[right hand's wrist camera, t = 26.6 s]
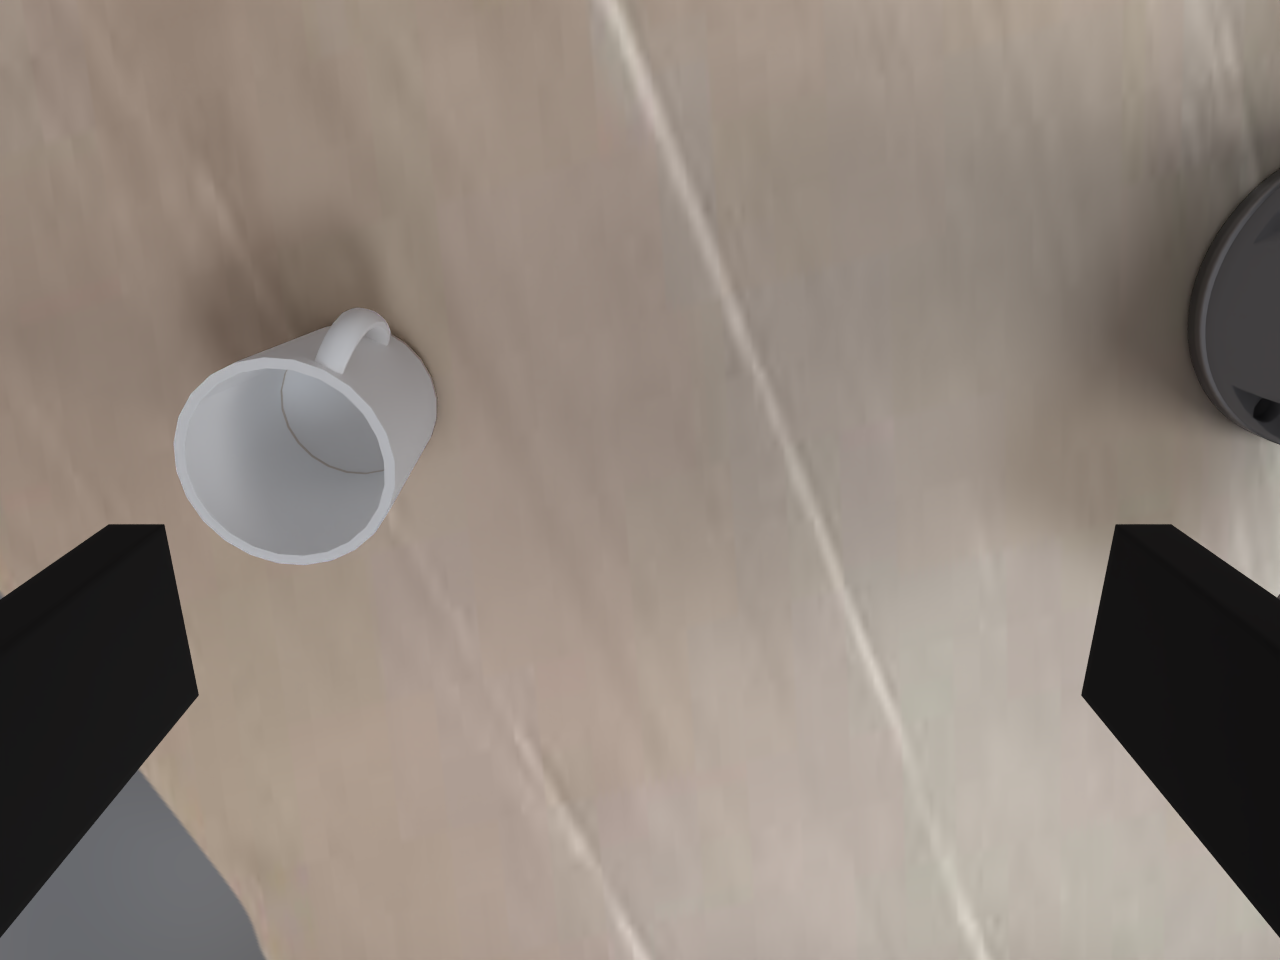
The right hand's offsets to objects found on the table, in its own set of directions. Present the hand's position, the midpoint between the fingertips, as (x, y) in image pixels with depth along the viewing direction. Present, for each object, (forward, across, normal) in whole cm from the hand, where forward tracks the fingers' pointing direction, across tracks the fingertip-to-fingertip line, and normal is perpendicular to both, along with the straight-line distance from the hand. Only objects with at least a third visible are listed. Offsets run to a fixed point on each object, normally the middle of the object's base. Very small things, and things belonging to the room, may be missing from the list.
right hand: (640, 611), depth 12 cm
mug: (+33, -14, -5) cm, 36 cm away
